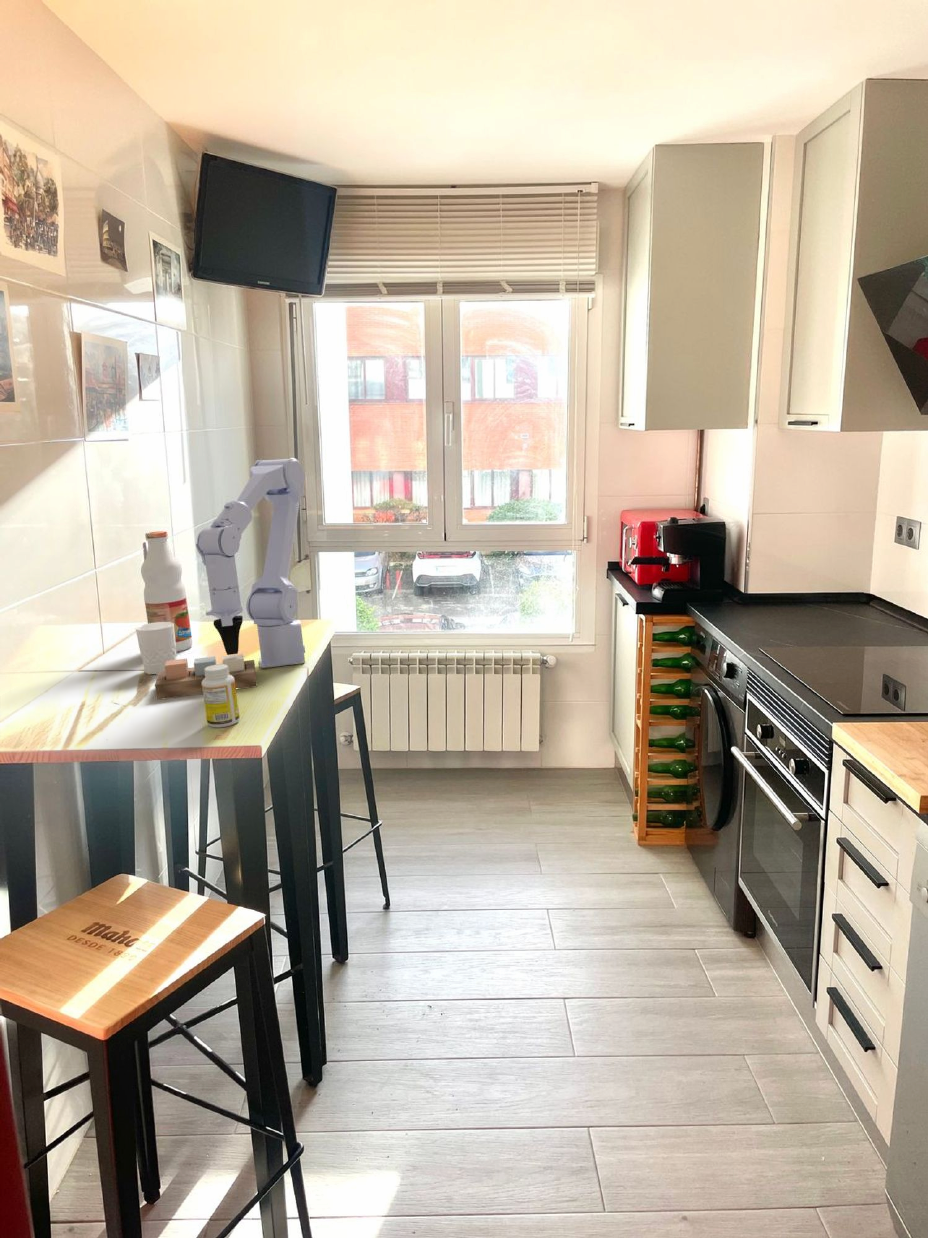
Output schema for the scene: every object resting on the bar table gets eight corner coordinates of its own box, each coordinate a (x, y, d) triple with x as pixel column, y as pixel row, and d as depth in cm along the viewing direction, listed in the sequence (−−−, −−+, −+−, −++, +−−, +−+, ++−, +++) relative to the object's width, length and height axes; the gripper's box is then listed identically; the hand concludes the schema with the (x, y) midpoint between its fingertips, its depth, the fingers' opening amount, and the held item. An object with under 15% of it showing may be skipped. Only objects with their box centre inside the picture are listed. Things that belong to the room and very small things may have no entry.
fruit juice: (153, 646, 222) (137, 532, 216) (194, 642, 224) (178, 528, 218) (150, 656, 213) (132, 536, 207) (191, 651, 215) (175, 532, 209)
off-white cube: (245, 672, 187) (243, 653, 186) (245, 677, 184) (243, 658, 183) (225, 675, 187) (222, 656, 186) (225, 680, 183) (222, 661, 182)
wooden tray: (255, 673, 191) (254, 659, 190) (256, 686, 181) (254, 671, 181) (161, 685, 187) (159, 671, 186) (156, 699, 177) (154, 684, 177)
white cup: (168, 675, 194) (162, 630, 192) (135, 676, 196) (128, 630, 194) (186, 665, 202) (180, 621, 200) (154, 665, 204) (147, 622, 201)
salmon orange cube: (189, 677, 185) (186, 658, 184) (188, 682, 181) (185, 663, 180) (169, 680, 184) (166, 660, 183) (167, 685, 180) (164, 665, 179)
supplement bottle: (227, 716, 164) (220, 661, 162) (246, 721, 160) (239, 665, 158) (200, 725, 160) (193, 669, 158) (219, 730, 156) (211, 673, 154)
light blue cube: (217, 675, 186) (215, 656, 185) (217, 680, 182) (214, 661, 181) (197, 677, 185) (194, 658, 184) (196, 683, 182) (193, 663, 181)
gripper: (204, 583, 187) (213, 647, 190) (201, 596, 173) (211, 665, 176) (239, 579, 189) (247, 643, 192) (239, 592, 175) (248, 660, 178)
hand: (232, 653), depth 184 cm, fingers closed
